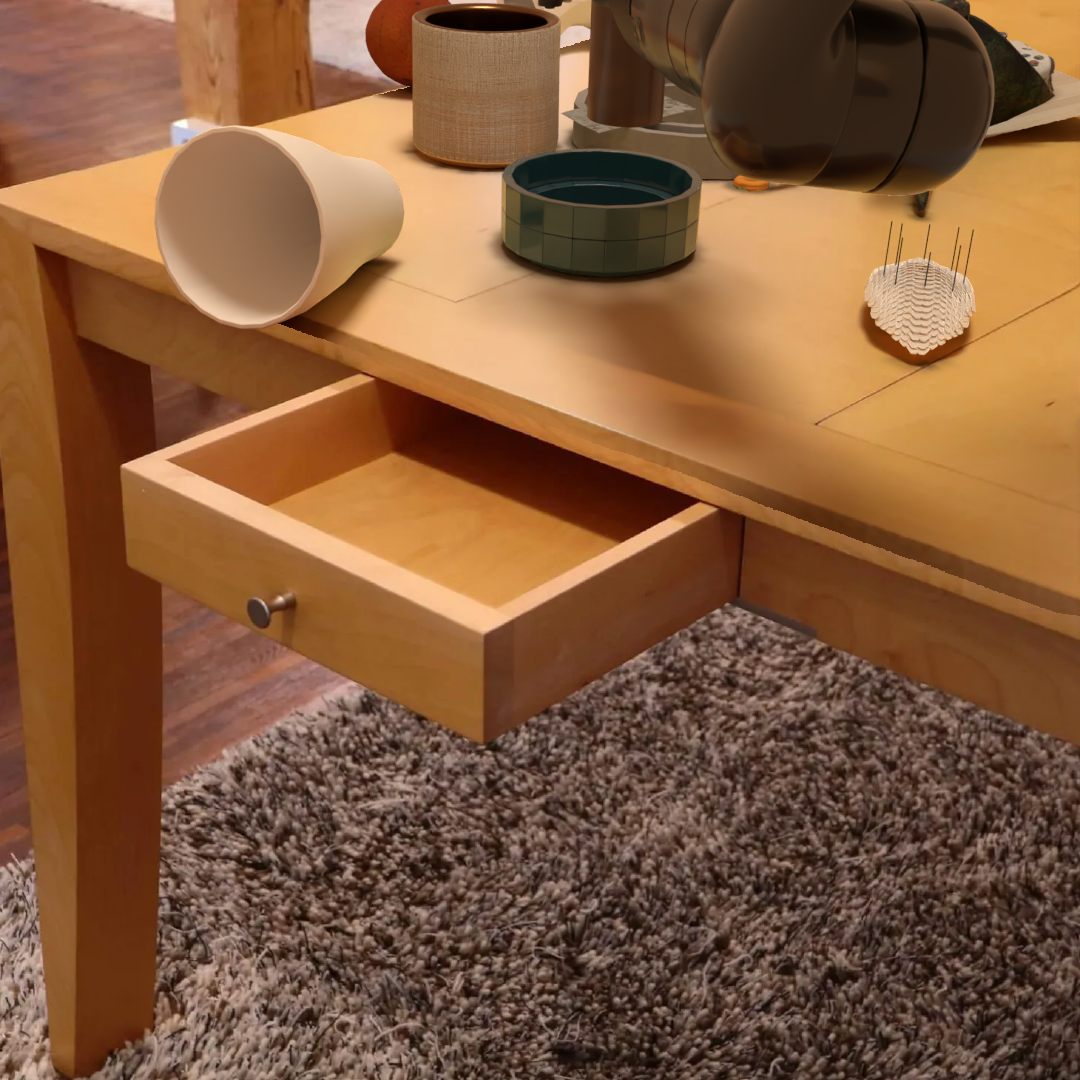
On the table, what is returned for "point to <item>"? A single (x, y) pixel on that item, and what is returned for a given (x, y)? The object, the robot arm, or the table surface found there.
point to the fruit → (395, 36)
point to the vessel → (1002, 75)
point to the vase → (562, 11)
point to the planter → (485, 83)
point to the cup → (269, 222)
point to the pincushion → (920, 300)
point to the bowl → (600, 211)
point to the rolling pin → (620, 78)
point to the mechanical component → (661, 137)
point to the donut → (750, 184)
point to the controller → (1065, 104)
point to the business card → (581, 118)
